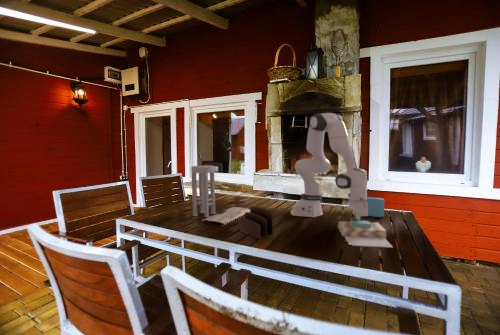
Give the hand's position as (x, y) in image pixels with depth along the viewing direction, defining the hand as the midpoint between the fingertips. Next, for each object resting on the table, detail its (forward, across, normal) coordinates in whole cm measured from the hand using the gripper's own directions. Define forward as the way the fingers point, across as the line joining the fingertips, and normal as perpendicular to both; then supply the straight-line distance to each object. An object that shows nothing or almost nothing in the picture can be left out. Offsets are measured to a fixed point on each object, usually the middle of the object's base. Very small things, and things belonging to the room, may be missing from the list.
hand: (357, 219), depth 157 cm
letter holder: (+6, -7, +60) cm, 61 cm away
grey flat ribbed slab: (+6, +26, +78) cm, 83 cm away
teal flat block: (+1, -8, +1) cm, 8 cm away
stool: (+5, +29, +96) cm, 100 cm away
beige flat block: (+5, -8, +1) cm, 10 cm away
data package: (+5, +26, -21) cm, 34 cm away
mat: (+5, -22, +3) cm, 23 cm away
